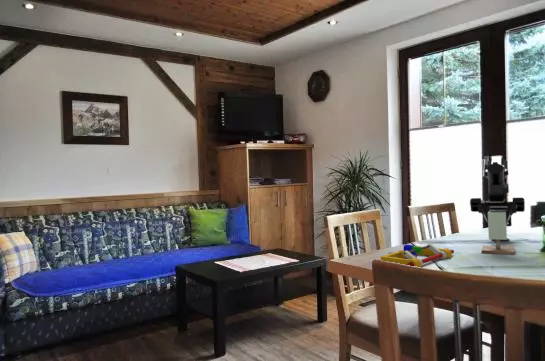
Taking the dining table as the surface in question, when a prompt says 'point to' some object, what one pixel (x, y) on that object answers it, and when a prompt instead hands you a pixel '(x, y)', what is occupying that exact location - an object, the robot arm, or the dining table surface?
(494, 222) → the sleeve
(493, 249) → the peg stand
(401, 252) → the mechanical clamp
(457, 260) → the dining table surface
